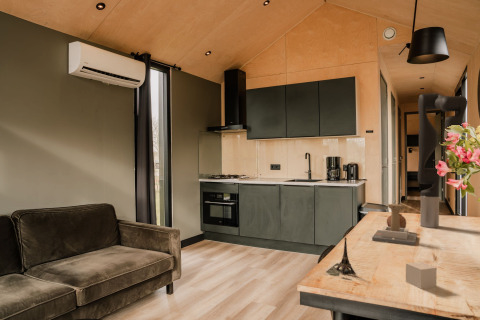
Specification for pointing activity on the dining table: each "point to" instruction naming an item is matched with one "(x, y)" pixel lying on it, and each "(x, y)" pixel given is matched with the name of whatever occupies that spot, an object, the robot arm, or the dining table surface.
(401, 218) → the onion
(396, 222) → the handle
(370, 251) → the dining table surface
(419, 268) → the beige cube
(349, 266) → the eiffel tower figurine
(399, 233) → the square socket base
